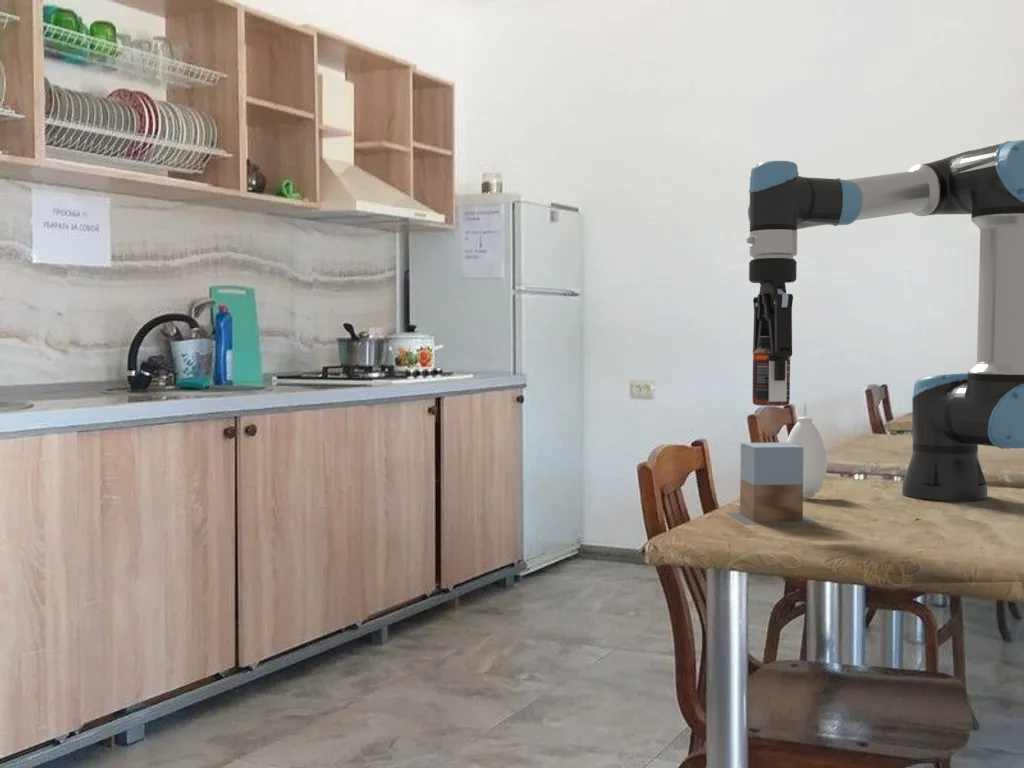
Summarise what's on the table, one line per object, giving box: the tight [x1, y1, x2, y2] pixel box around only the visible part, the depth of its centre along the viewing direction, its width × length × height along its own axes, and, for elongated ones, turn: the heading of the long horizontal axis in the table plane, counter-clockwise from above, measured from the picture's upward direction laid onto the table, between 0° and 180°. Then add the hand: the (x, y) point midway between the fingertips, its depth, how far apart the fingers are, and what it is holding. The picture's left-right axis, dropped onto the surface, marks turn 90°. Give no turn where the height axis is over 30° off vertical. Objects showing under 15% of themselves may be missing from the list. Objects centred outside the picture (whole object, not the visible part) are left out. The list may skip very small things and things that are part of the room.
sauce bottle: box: [785, 403, 828, 501], centre depth 204 cm, size 8×8×18 cm
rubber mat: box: [725, 511, 820, 526], centre depth 178 cm, size 12×12×1 cm
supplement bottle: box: [752, 336, 791, 407], centre depth 177 cm, size 6×6×11 cm
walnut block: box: [739, 479, 804, 522], centre depth 178 cm, size 8×8×6 cm
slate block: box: [740, 442, 803, 485], centre depth 178 cm, size 8×8×6 cm
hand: (771, 400), depth 177 cm, fingers closed on supplement bottle, 6 cm apart
